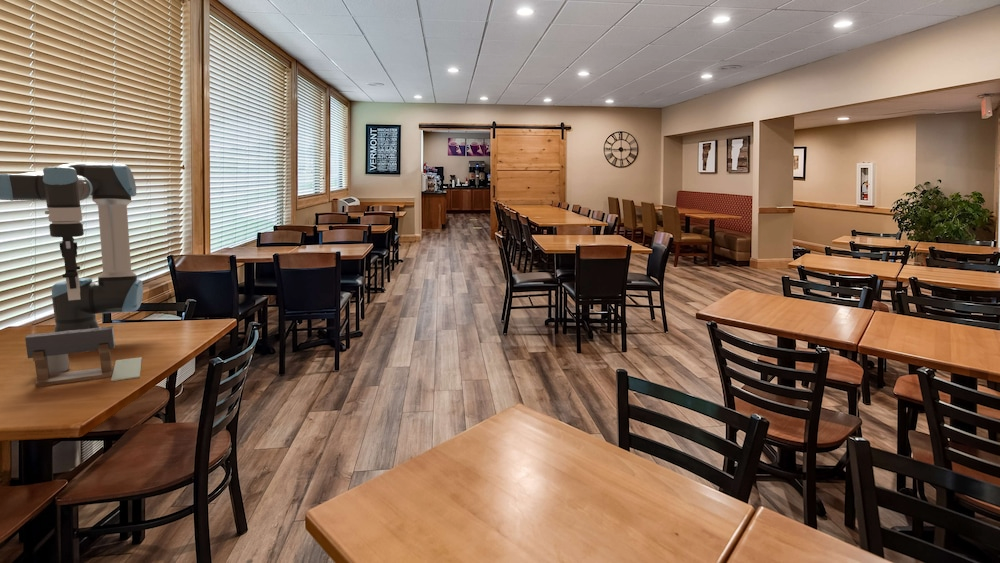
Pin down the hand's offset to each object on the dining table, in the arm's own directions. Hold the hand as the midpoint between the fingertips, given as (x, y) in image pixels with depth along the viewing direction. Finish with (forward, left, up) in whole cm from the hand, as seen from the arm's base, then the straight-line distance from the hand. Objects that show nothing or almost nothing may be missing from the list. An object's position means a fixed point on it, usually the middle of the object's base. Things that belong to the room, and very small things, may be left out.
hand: (74, 295), depth 159 cm
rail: (-1, -2, -17) cm, 17 cm away
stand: (-1, -2, -25) cm, 25 cm away
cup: (-13, -9, -25) cm, 29 cm away
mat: (-3, +11, -25) cm, 27 cm away
